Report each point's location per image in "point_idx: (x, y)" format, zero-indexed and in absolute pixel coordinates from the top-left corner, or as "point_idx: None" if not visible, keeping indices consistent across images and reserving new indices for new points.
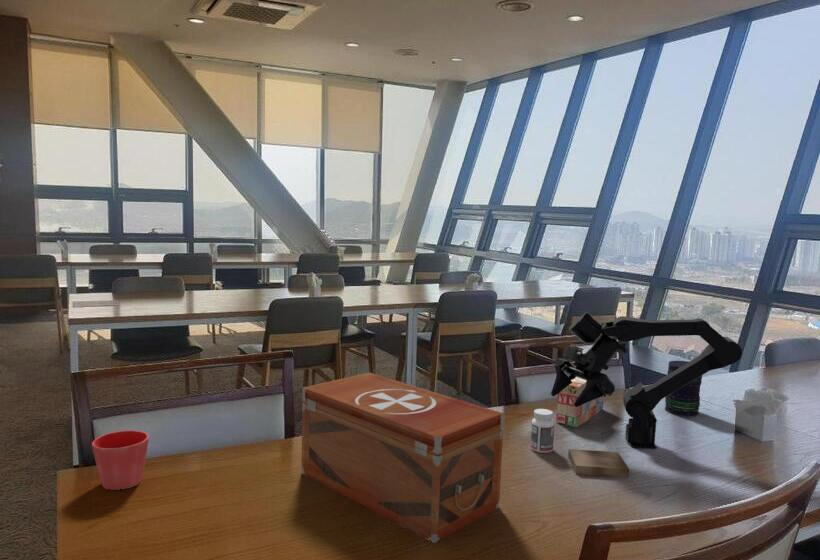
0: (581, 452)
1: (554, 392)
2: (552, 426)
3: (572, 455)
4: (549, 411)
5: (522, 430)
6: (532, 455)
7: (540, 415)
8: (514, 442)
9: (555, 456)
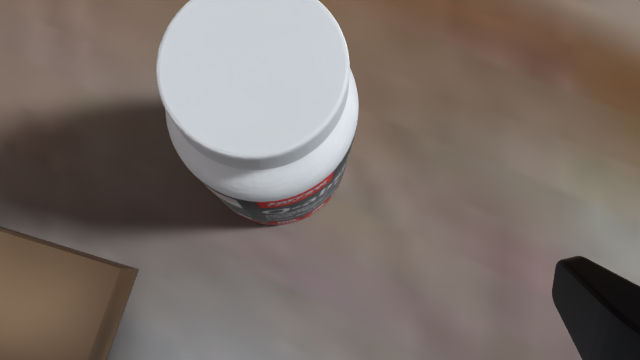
0: (47, 329)
1: (583, 313)
2: (179, 155)
3: (18, 243)
4: (246, 127)
5: (594, 168)
6: None
7: (186, 9)
8: (400, 44)
9: (161, 195)
